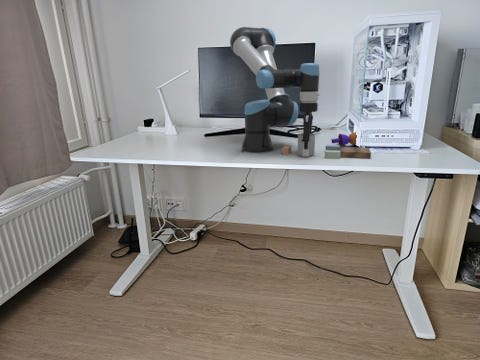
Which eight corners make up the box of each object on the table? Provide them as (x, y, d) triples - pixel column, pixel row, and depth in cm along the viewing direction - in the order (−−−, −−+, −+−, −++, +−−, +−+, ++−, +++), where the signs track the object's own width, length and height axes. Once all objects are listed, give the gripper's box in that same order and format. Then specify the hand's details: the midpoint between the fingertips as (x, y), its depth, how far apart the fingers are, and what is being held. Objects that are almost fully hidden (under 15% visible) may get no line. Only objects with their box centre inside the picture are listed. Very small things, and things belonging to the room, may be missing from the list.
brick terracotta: (288, 155, 139) (288, 148, 138) (281, 154, 140) (281, 148, 139) (291, 152, 144) (291, 145, 144) (285, 152, 146) (285, 145, 145)
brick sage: (325, 158, 131) (325, 151, 130) (324, 157, 133) (325, 150, 132) (340, 159, 129) (340, 152, 129) (339, 157, 132) (339, 150, 131)
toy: (333, 153, 150) (366, 148, 148) (332, 137, 148) (365, 132, 145) (330, 147, 161) (360, 142, 158) (328, 132, 158) (359, 127, 155)
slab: (339, 157, 131) (340, 151, 131) (339, 152, 141) (339, 147, 140) (370, 158, 128) (371, 152, 127) (368, 153, 137) (368, 147, 137)
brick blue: (325, 152, 142) (325, 146, 141) (326, 151, 145) (326, 144, 144) (339, 153, 140) (339, 146, 139) (339, 152, 143) (340, 145, 142)
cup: (295, 155, 136) (296, 135, 133) (300, 151, 145) (301, 132, 142) (312, 157, 133) (313, 136, 131) (316, 152, 142) (317, 132, 139)
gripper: (316, 103, 121) (313, 159, 128) (319, 100, 142) (316, 148, 148) (296, 103, 123) (295, 159, 130) (302, 100, 144) (300, 148, 150)
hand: (306, 153), depth 139 cm, fingers closed on cup, 10 cm apart
